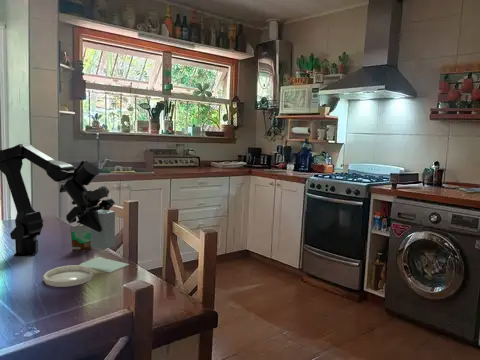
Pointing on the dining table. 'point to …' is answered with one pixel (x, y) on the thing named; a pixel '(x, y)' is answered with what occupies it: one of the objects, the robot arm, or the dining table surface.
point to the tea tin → (103, 229)
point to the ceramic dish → (68, 275)
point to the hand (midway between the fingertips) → (106, 229)
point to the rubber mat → (104, 264)
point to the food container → (80, 237)
